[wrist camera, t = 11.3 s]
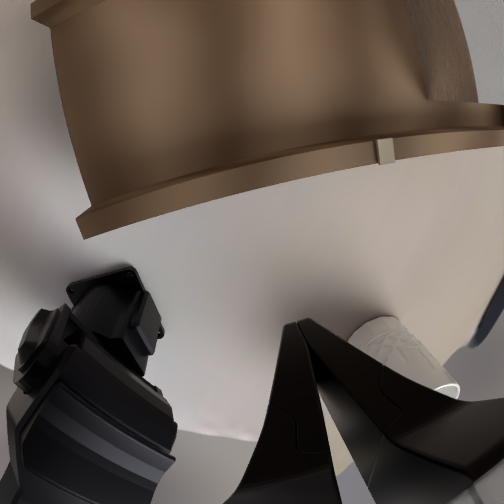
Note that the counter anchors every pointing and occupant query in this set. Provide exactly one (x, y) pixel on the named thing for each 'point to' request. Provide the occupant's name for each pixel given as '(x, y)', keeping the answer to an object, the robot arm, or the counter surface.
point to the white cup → (403, 354)
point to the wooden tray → (240, 97)
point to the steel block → (460, 48)
